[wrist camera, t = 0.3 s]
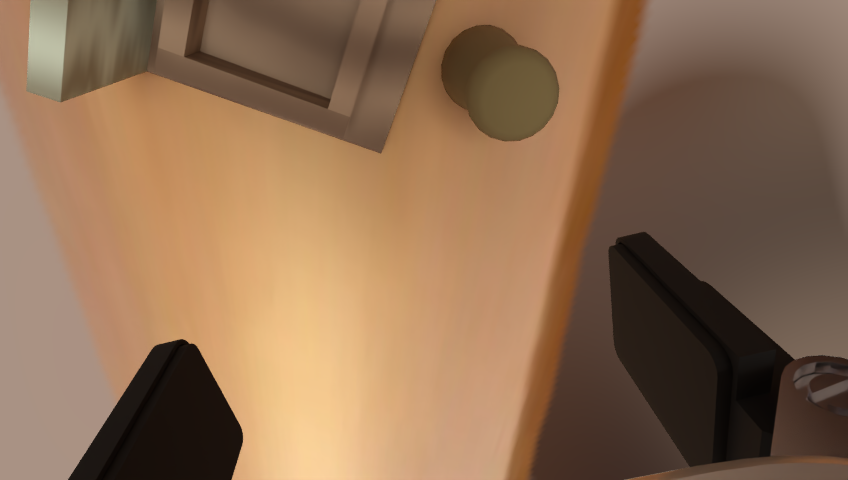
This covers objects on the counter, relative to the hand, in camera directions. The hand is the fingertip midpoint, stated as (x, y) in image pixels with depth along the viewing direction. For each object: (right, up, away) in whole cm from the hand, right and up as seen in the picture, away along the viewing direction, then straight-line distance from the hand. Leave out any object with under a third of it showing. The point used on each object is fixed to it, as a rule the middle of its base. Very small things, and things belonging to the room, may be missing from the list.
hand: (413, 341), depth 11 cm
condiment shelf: (-9, +18, +22) cm, 30 cm away
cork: (+4, +15, +25) cm, 30 cm away
